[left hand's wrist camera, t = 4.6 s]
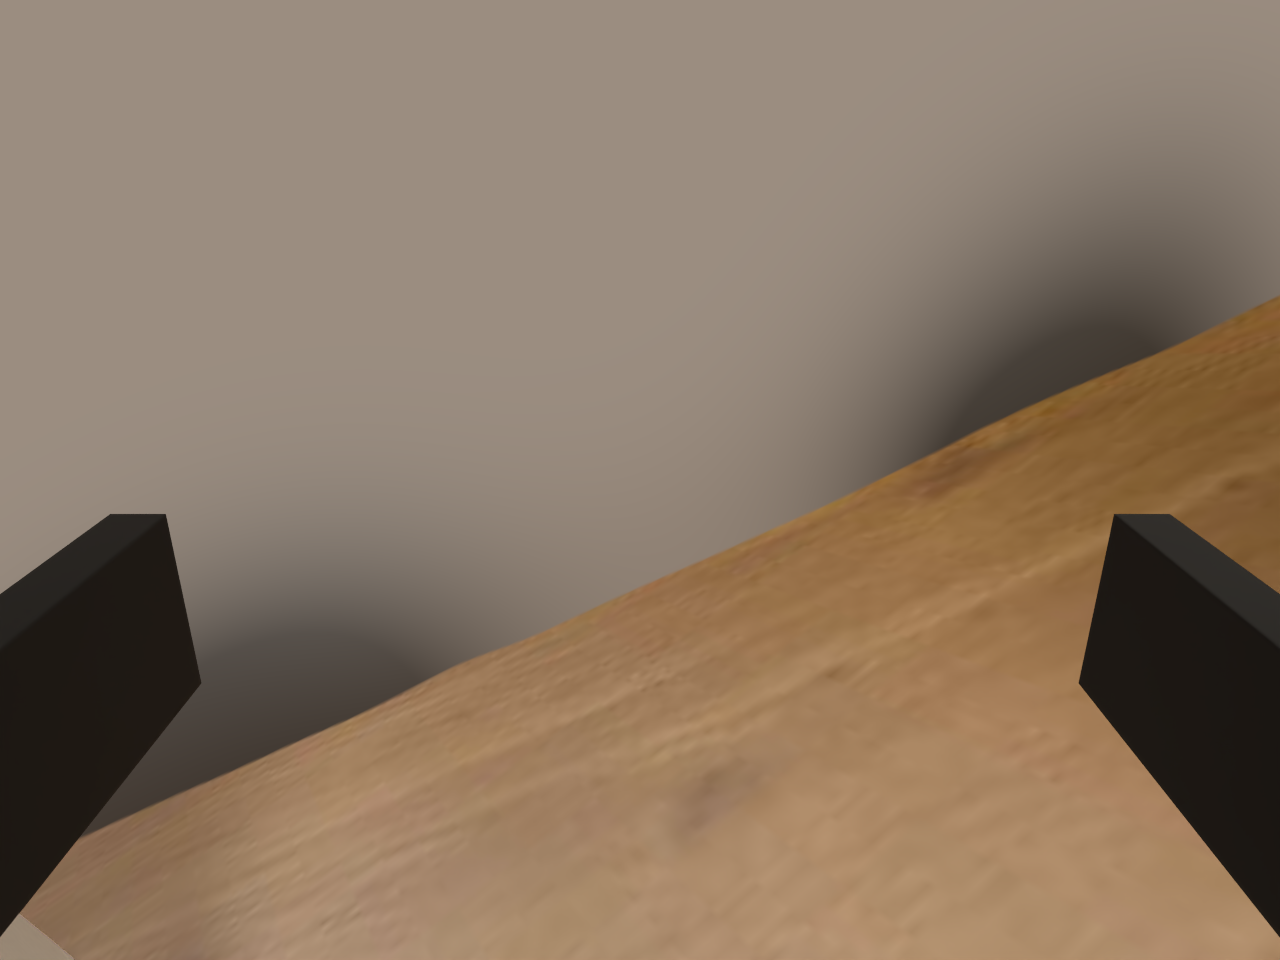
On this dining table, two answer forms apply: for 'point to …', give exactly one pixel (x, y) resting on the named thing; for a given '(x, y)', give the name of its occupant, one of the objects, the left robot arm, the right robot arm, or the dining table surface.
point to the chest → (29, 943)
